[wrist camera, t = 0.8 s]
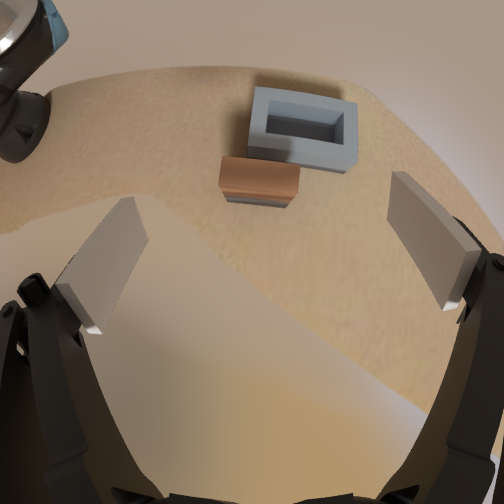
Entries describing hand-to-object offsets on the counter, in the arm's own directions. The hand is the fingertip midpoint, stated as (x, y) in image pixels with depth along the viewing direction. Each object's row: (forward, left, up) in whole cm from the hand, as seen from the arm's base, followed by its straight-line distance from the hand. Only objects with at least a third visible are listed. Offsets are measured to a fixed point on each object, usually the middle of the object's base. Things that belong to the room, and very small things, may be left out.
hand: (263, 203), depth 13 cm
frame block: (-12, +9, -25) cm, 30 cm away
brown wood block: (-5, +1, -25) cm, 26 cm away
